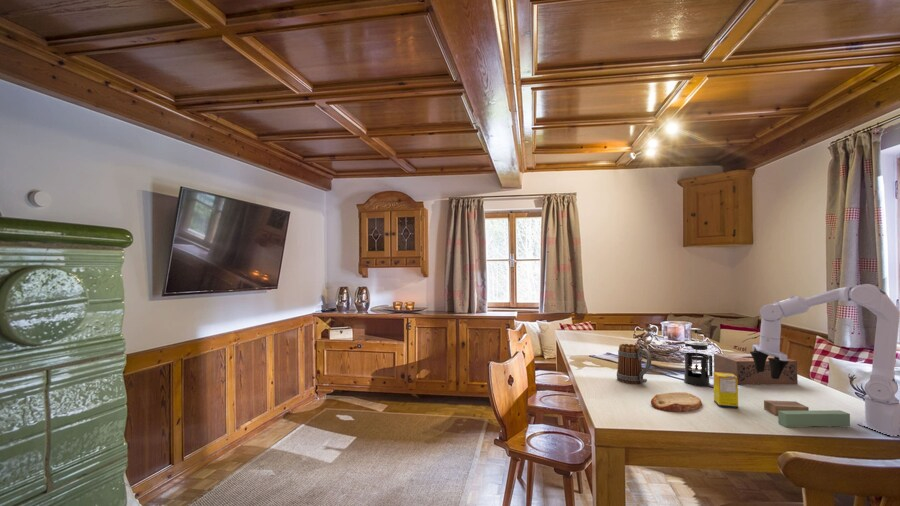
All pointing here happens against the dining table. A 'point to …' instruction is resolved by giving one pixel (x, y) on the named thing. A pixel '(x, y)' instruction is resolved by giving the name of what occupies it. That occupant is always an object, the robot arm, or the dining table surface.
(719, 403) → the supplement box
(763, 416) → the dining table surface
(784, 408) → the slab
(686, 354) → the french press
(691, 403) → the bread slice
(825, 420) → the rail
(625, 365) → the mug
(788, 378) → the tissue box cover
